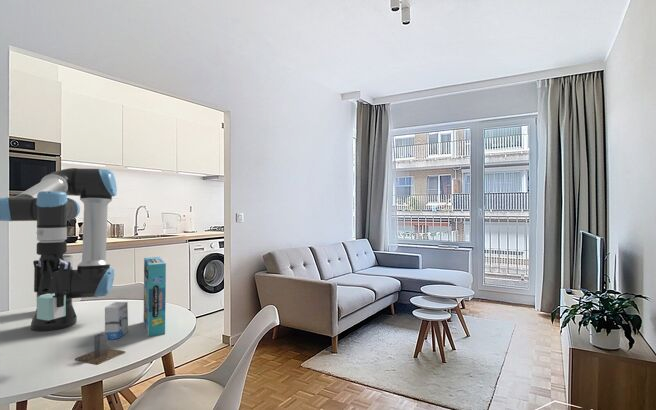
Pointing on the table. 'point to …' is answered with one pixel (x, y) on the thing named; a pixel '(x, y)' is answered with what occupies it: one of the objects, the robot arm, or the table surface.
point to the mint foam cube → (47, 307)
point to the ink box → (116, 319)
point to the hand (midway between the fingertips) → (51, 316)
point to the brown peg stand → (100, 351)
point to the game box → (154, 295)
